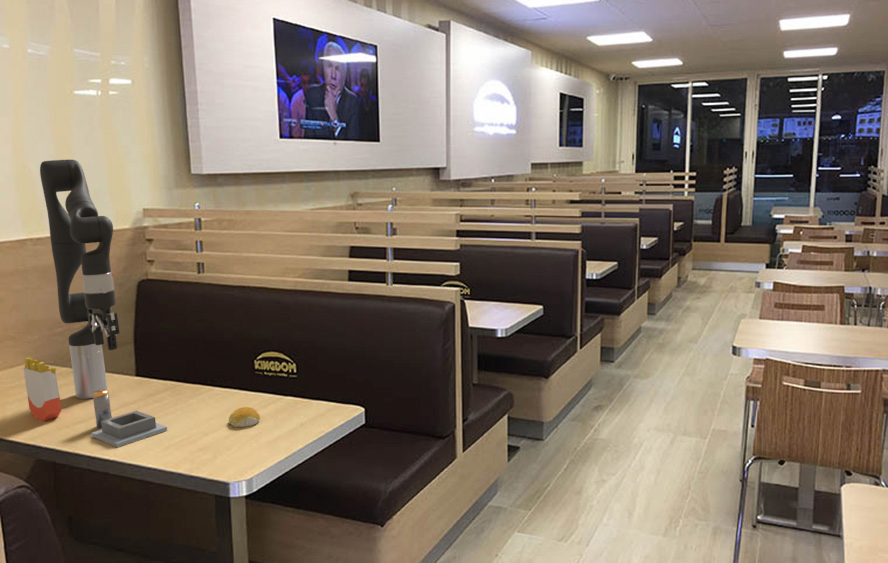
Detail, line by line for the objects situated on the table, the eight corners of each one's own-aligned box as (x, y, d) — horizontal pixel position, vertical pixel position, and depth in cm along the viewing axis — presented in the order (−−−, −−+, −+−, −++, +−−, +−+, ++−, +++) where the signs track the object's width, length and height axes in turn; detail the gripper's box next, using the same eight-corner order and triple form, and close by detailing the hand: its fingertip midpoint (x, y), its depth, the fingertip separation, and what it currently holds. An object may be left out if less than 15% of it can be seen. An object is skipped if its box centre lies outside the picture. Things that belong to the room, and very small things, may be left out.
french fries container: (46, 411, 217) (37, 353, 214) (63, 417, 211) (55, 358, 208) (30, 416, 214) (21, 357, 211) (47, 422, 207) (39, 362, 204)
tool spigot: (94, 426, 202) (89, 392, 201) (108, 422, 205) (104, 388, 204) (101, 429, 200) (96, 394, 198) (115, 425, 203) (110, 390, 201)
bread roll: (255, 415, 207) (254, 401, 206) (262, 424, 199) (261, 410, 198) (226, 420, 203) (225, 406, 202) (232, 430, 195) (230, 416, 195)
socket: (91, 436, 195) (90, 422, 194) (140, 420, 205) (139, 407, 205) (117, 447, 186) (115, 432, 185) (167, 430, 197) (165, 416, 196)
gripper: (74, 289, 199) (81, 346, 202) (95, 294, 190) (103, 354, 192) (102, 285, 205) (108, 340, 207) (124, 290, 195) (130, 348, 198)
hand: (106, 347), depth 200 cm, fingers open, 8 cm apart
